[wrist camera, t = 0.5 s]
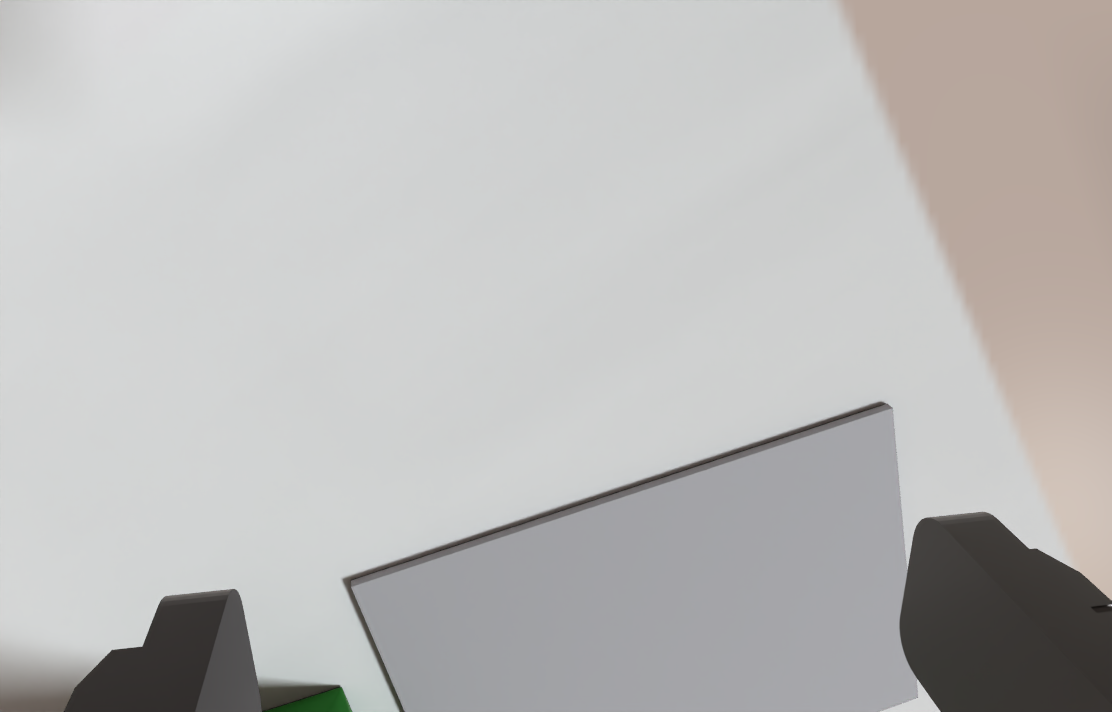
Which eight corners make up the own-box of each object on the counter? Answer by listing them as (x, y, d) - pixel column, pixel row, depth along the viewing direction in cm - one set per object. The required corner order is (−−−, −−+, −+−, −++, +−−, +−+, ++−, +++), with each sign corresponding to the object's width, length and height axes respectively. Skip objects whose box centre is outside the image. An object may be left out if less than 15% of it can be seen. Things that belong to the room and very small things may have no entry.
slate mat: (351, 580, 34) (351, 587, 34) (887, 403, 36) (892, 407, 36) (467, 852, 41) (468, 860, 40) (913, 691, 43) (918, 697, 42)
